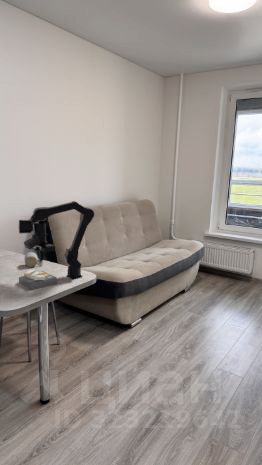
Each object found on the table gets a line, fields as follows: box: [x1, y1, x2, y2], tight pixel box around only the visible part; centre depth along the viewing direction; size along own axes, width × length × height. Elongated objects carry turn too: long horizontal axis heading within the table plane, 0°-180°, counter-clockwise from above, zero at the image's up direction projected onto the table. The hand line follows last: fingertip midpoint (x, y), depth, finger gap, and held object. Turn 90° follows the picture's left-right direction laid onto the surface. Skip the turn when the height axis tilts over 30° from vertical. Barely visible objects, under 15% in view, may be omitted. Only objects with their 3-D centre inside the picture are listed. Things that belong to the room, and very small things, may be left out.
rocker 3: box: [32, 275, 45, 280], centre depth 162 cm, size 5×3×2 cm, turn 136°
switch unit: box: [18, 270, 58, 291], centre depth 167 cm, size 14×14×3 cm
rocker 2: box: [28, 271, 40, 279], centre depth 165 cm, size 5×3×2 cm, turn 136°
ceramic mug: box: [24, 251, 44, 268], centre depth 194 cm, size 11×8×8 cm
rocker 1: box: [23, 268, 37, 277], centre depth 168 cm, size 5×3×2 cm, turn 136°
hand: (41, 261), depth 168 cm, fingers closed
